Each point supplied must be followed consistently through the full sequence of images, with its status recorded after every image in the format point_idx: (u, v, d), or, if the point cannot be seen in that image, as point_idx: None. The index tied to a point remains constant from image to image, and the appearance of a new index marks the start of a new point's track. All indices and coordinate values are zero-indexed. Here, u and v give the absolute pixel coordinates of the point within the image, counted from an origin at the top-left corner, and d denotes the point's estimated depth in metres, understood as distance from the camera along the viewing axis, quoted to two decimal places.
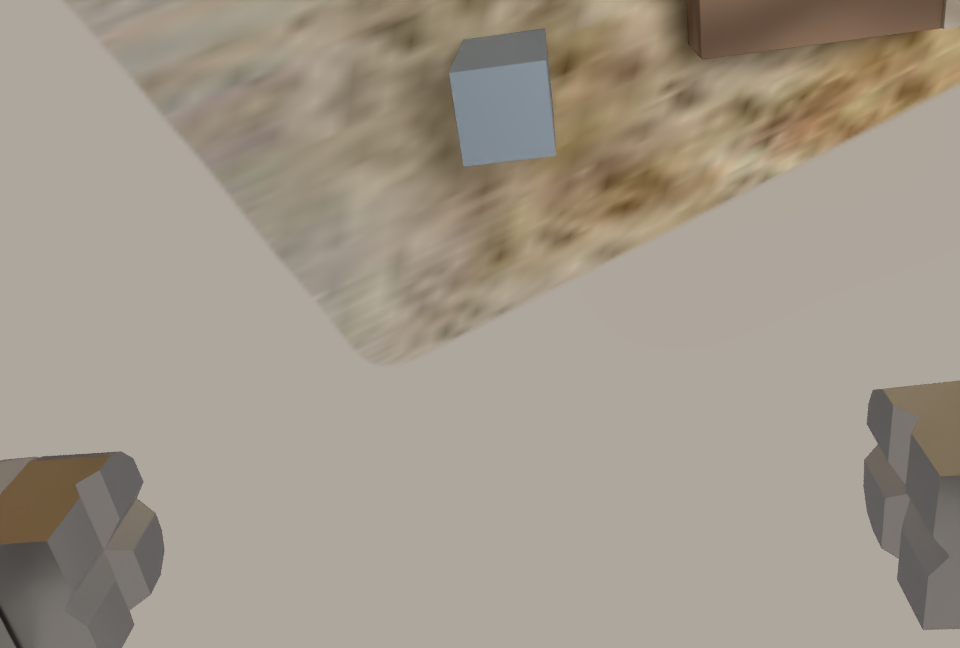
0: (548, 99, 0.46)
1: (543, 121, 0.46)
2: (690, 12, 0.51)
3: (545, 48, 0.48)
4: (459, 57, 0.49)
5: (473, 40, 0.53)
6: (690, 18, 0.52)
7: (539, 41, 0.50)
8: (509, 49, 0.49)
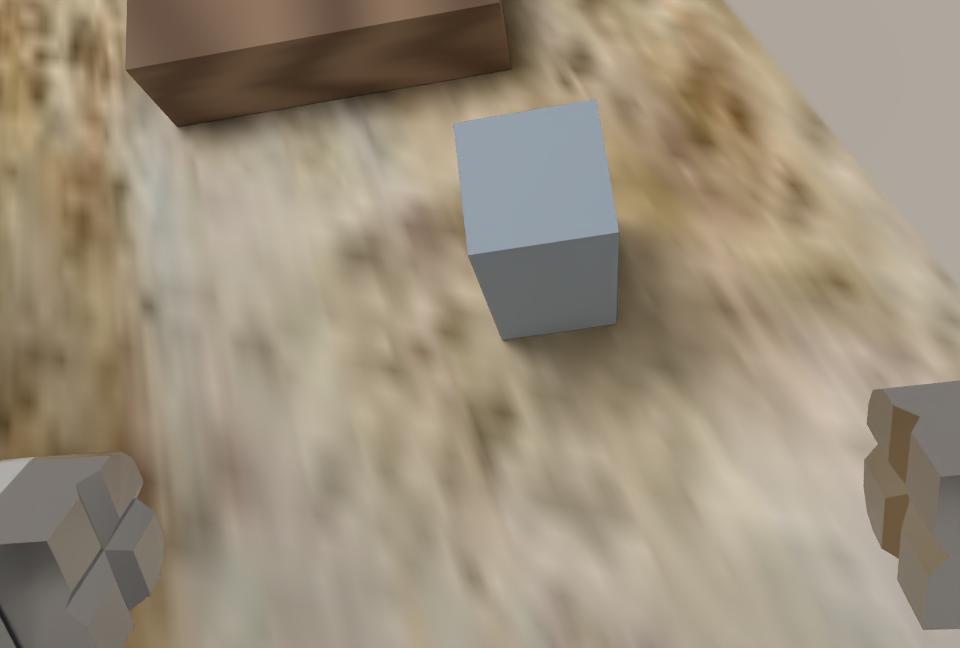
0: (510, 116, 0.31)
1: (542, 120, 0.30)
2: (466, 59, 0.42)
3: None
4: None
5: None
6: (473, 59, 0.42)
7: None
8: None
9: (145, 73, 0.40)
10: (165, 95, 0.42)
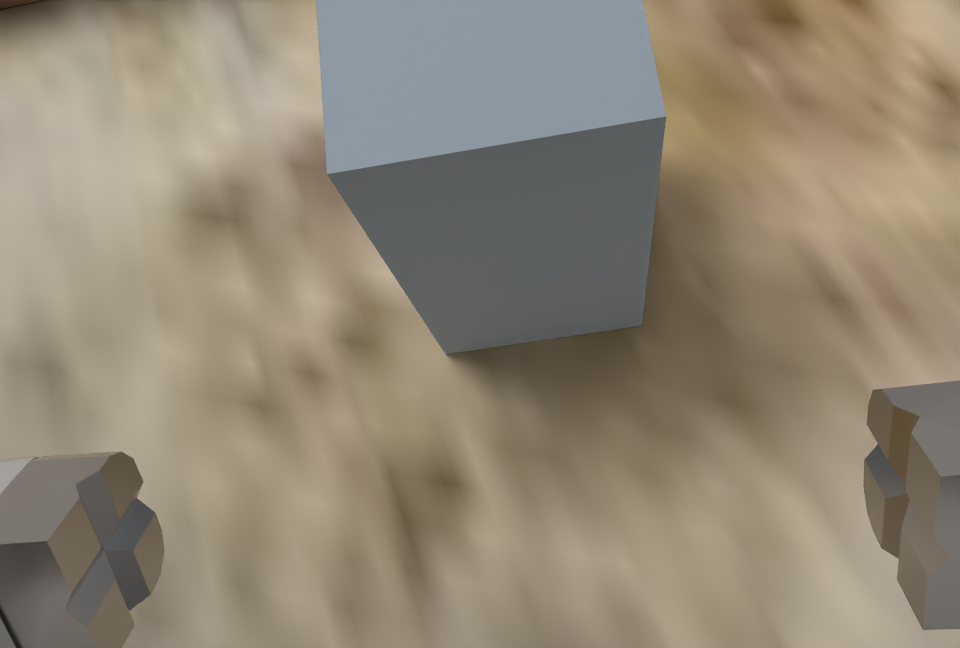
0: None
1: None
2: None
3: None
4: None
5: None
6: None
7: None
8: None
9: None
10: None
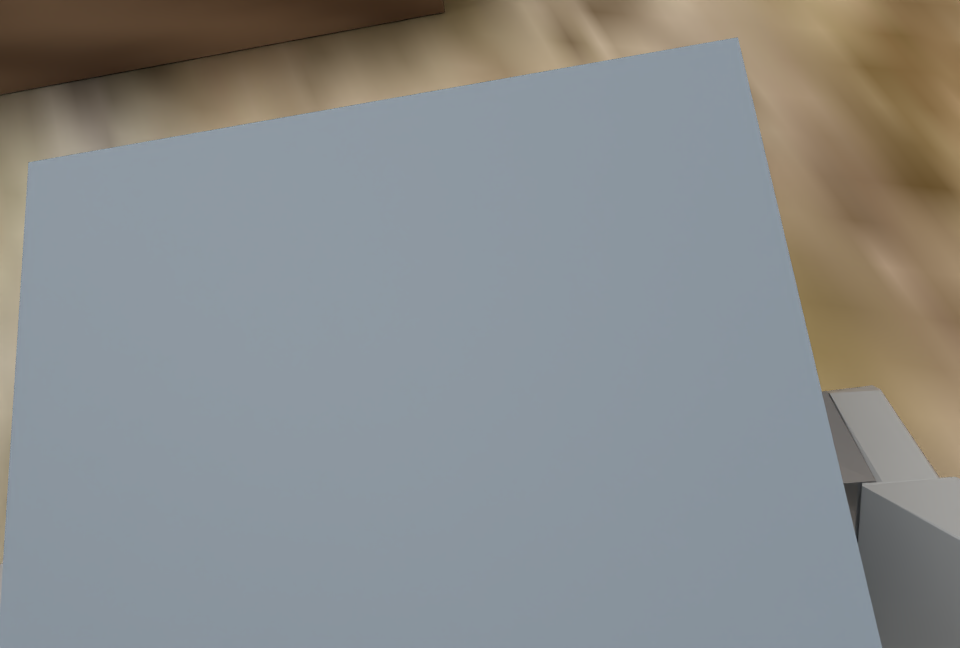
0: (298, 126, 0.06)
1: (457, 148, 0.06)
2: None
3: None
4: None
5: None
6: None
7: None
8: None
9: None
10: None
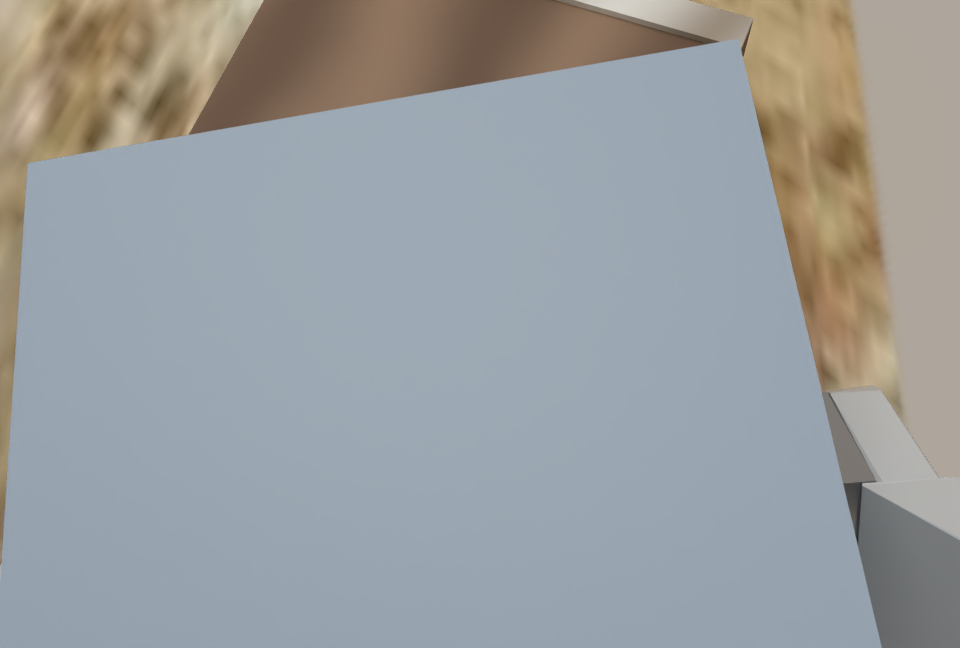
0: (297, 127, 0.06)
1: (457, 149, 0.06)
2: None
3: None
4: None
5: None
6: None
7: None
8: None
9: None
10: None
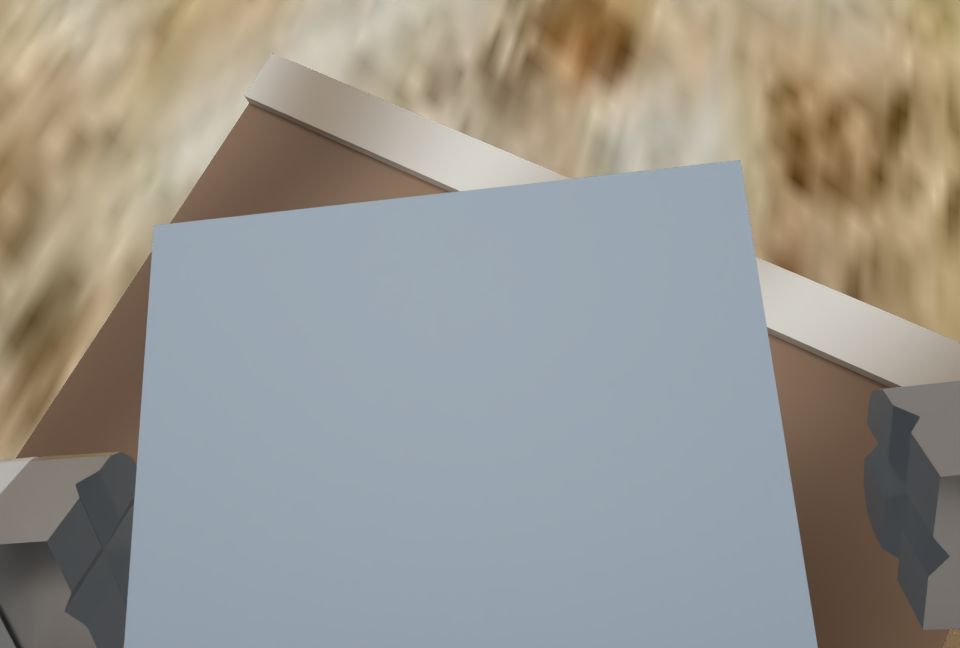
0: (377, 210, 0.07)
1: (507, 238, 0.07)
2: None
3: None
4: None
5: None
6: None
7: None
8: None
9: None
10: None
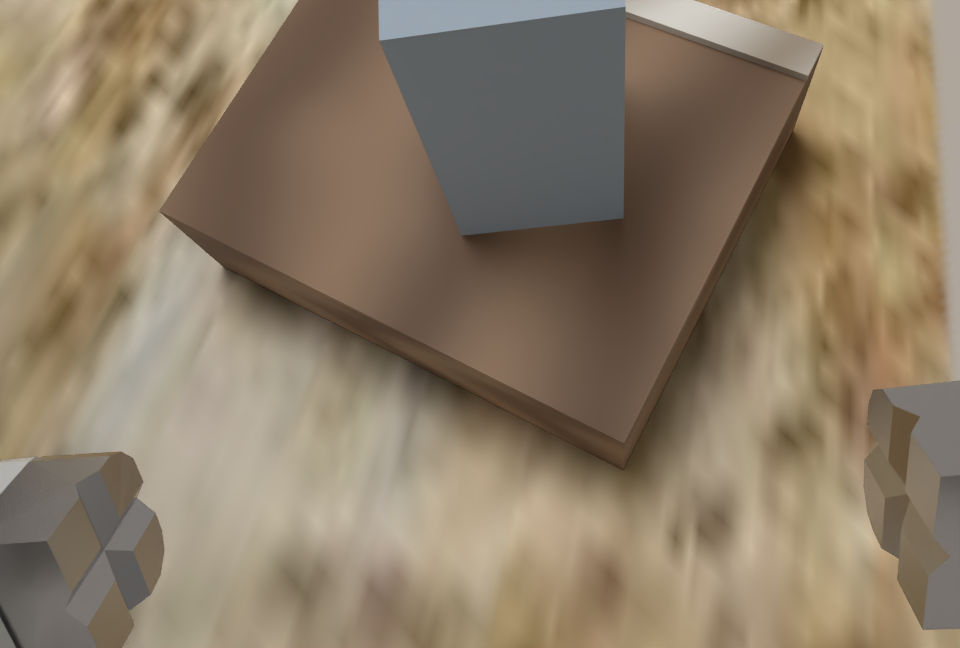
0: None
1: None
2: (567, 435, 0.29)
3: None
4: None
5: None
6: (577, 440, 0.29)
7: None
8: None
9: (182, 225, 0.30)
10: (206, 246, 0.31)
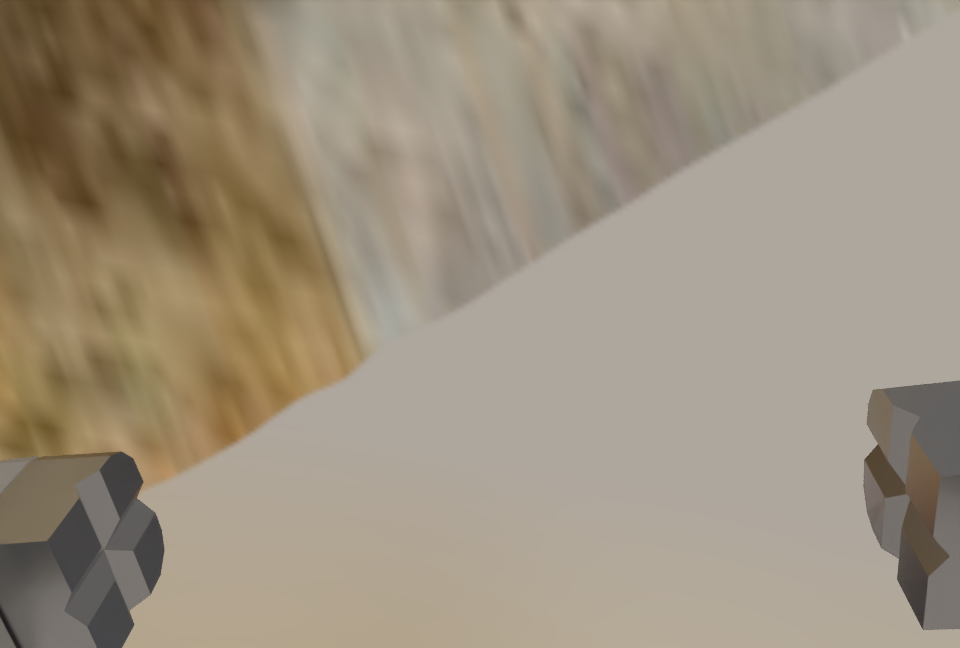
0: None
1: None
2: None
3: None
4: None
5: None
6: None
7: None
8: None
9: None
10: None
